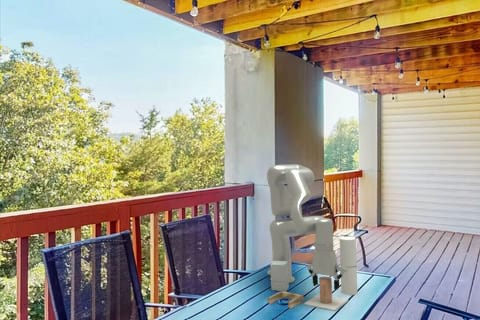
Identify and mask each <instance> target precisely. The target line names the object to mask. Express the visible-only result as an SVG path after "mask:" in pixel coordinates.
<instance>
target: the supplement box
mask: <svg viewBox="0 0 480 320" xmlns="http://www.w3.org/2000/svg"><path fill="white" fill-rule="evenodd" d="M269 266H270V270H271V275H270V278H271V281H270V287H271V291H275V290H276V291H277V292H280V291H284V292H287V290H288V289H289V287H290V285H289V284H290V283H289V278H288V261H273V260H272V262H271V263H270V264H269Z"/></svg>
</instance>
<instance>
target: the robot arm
mask: <svg viewBox="0 0 480 320" xmlns="http://www.w3.org/2000/svg"><path fill="white" fill-rule="evenodd" d="M314 174H315V173H314V172H313V171H312V170H311V169H310V168H308V167H306V166H303V165H300V164H297V163H296V164H290V163H289V164H275V165H272V166H270V167H269V168H268V170H267V172H266V181H267V184H268V186H269V191H270V192H269V194H270V207H271V214H272V215H273V216H275V217H289V218H279V219H277V218H276V219H274V220H273V221H271V222H270V225H269V232H270V238H271V247H272V249H271V250H272V262H273V261H288V278H289V284H291V283H293V282H295V280H296V279H295V277H294V276H293V275H292V274H293V273H292V257H291V256H292V253H291V243H290V242H289V241H288V239H287V238H289V237H297V236H300V235H308V234H314V235H315V237H314V239H315V242H314V243H312V247H315V249H314V250H313V253H312V262H311V263H309V264H307V265H306V268H307V270H308V272H309V274H310V275H311V277H312V278H311V279H312V286H313V287H316V286H317V285H319V278H318V277H319V276H318V275H321V276H322V275H323V276H327V277H333V290H335V291H336V290H338V289H339V288H340V280H341V277H342V276H343V274H344V272H345V270H344V269H342V268H341V266H339V265H338V259H337V258H338V257H337V253H336V250H334V227H333V226H334V223H333V220H332V219H331V218H328V217H326V218H325V217H324V216H322V215H310V216H303V211H302V205H303V204H305V203H306V202H308V201H309V200H310V199H311V198H312V193H311V191H310V189H309V187H308V186H312V185H313V184H314V182H315V175H314ZM283 182H286V184H287V187H288V190H289V192H290V194H291V196H288V194H287V193H288V192H287V191H288V190H287V187H286V186H285V184H284V183H283ZM338 271H339V274H338ZM266 274H267V275H269V276H271V269H268V270H267V273H266ZM269 280H271V277H270V279H269Z"/></svg>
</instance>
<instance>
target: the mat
mask: <svg viewBox="0 0 480 320" xmlns="http://www.w3.org/2000/svg"><path fill="white" fill-rule="evenodd" d="M348 302H349V299H346V298H342V297H341V298H340V297H336V296H332V303H329V304H325V303H321V302H320V293H318V294H317V295H315V296H313V297H312V298H310V299H308V300H307V301H305V302H303V305H304V306H308V307H312V308H316V309H323V310H327V311H331V312H336V311H338V310H339V309H340V308H342V307H343V306H344V305H346V303H348Z"/></svg>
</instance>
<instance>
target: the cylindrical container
mask: <svg viewBox="0 0 480 320" xmlns="http://www.w3.org/2000/svg"><path fill="white" fill-rule="evenodd" d="M356 242H357V241H356V237H353V236H342V237H339V258H340V259H339V263H340V264H339V265H340V267H341V268H342V269H344V270H345V272H344V274H343V276H342V277H341V278H340V285H341V286H340V287H341V288H340V290H341V294H343V295H345V296H355V295H357V294H358V276H357V275H358V273H357V272H358V271H357V269H358V268H357V243H356Z"/></svg>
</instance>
